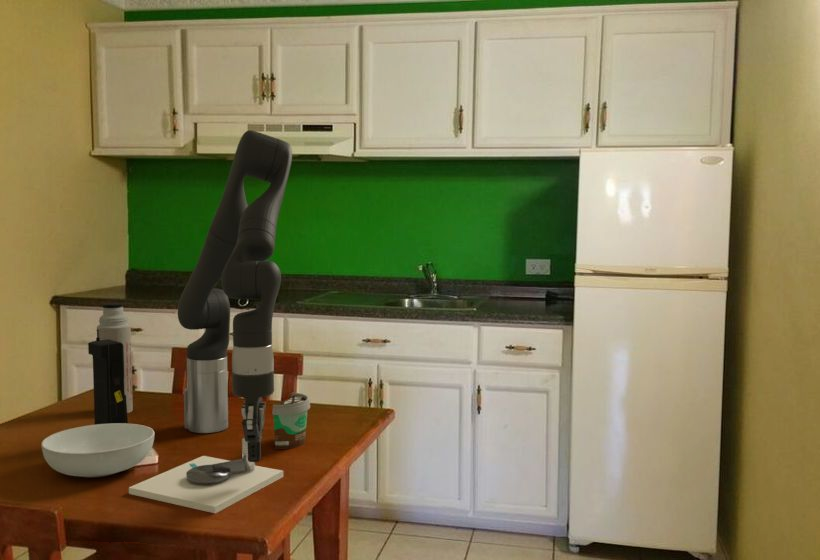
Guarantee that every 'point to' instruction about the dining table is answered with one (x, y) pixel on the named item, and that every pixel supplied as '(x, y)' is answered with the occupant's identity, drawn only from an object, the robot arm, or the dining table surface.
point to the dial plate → (204, 486)
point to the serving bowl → (98, 449)
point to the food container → (291, 421)
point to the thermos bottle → (120, 331)
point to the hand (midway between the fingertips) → (254, 460)
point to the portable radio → (108, 381)
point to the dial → (220, 469)
